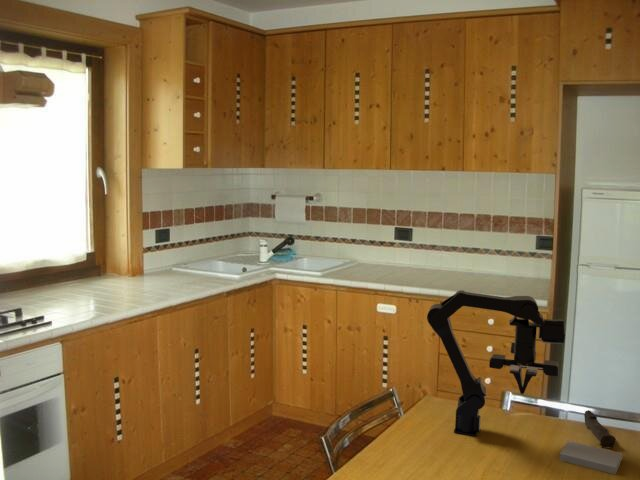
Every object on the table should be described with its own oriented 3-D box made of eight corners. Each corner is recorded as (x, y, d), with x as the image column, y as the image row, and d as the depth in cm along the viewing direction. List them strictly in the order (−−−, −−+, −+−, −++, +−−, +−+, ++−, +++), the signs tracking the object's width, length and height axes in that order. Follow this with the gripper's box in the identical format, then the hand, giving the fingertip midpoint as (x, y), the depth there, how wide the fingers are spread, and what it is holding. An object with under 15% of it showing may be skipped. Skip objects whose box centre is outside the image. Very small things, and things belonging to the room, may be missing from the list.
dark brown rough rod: (615, 449, 188) (616, 433, 187) (600, 448, 188) (601, 432, 187) (594, 423, 206) (595, 408, 206) (581, 422, 207) (582, 407, 206)
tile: (559, 453, 179) (616, 467, 172) (568, 440, 188) (622, 453, 180) (559, 461, 180) (615, 476, 172) (567, 448, 188) (621, 461, 181)
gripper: (561, 337, 195) (557, 389, 197) (495, 330, 202) (492, 380, 204) (559, 347, 185) (556, 402, 187) (490, 339, 191) (487, 392, 193)
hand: (522, 393), depth 193 cm, fingers closed
